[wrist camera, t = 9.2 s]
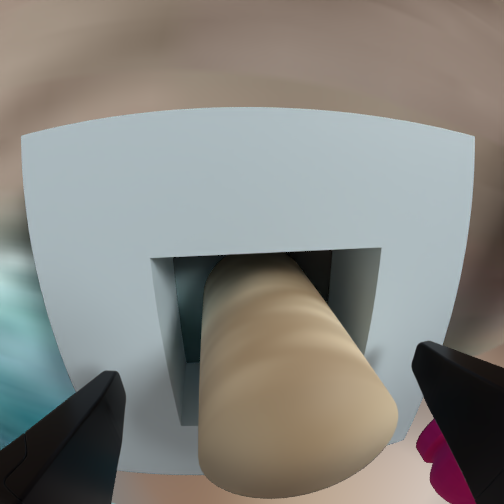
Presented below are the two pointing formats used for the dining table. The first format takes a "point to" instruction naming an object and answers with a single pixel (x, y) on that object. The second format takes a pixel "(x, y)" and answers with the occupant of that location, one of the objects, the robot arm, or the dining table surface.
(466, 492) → the pepper mill
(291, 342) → the birch peg
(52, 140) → the socket block
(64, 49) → the dining table surface
